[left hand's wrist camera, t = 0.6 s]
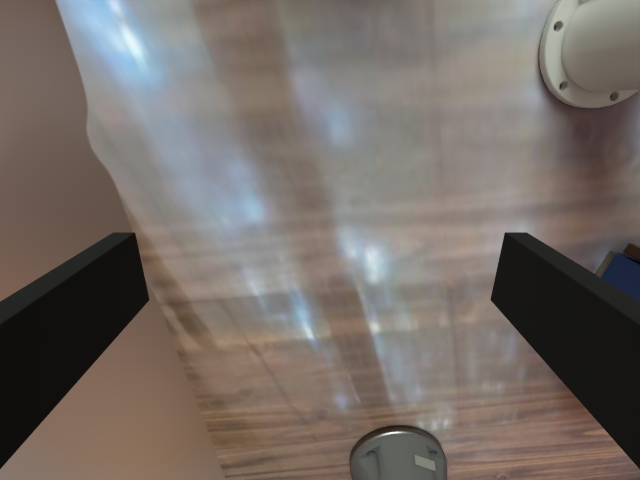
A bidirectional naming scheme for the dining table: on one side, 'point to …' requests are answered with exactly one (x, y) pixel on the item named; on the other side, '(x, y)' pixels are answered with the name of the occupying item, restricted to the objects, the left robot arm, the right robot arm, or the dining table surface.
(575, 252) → the dining table surface
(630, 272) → the cabinet
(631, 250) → the dark piece
